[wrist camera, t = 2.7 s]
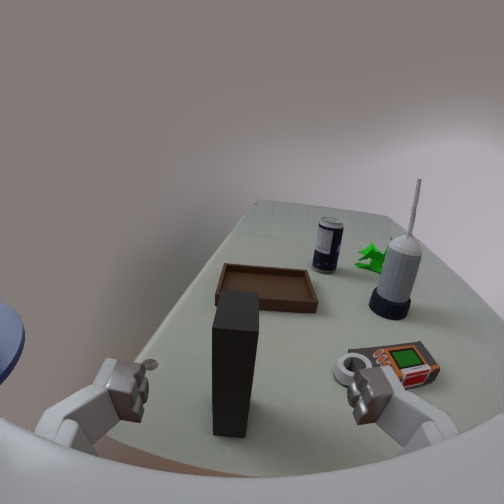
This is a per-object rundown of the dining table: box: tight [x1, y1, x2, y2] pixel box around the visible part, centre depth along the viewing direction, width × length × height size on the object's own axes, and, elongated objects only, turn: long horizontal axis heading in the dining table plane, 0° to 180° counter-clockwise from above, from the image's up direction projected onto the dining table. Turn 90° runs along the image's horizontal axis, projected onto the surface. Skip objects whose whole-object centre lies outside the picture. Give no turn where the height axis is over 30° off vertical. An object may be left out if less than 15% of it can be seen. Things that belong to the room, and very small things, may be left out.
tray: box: [215, 263, 318, 313], centre depth 53 cm, size 17×13×2 cm
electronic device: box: [334, 341, 440, 388], centre depth 33 cm, size 7×3×15 cm
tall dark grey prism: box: [212, 289, 259, 438], centre depth 24 cm, size 3×6×14 cm, turn 178°
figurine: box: [355, 237, 393, 273], centre depth 66 cm, size 6×12×9 cm, turn 69°
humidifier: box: [369, 179, 422, 320], centre depth 46 cm, size 8×8×25 cm
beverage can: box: [313, 217, 344, 273], centre depth 64 cm, size 6×6×12 cm
